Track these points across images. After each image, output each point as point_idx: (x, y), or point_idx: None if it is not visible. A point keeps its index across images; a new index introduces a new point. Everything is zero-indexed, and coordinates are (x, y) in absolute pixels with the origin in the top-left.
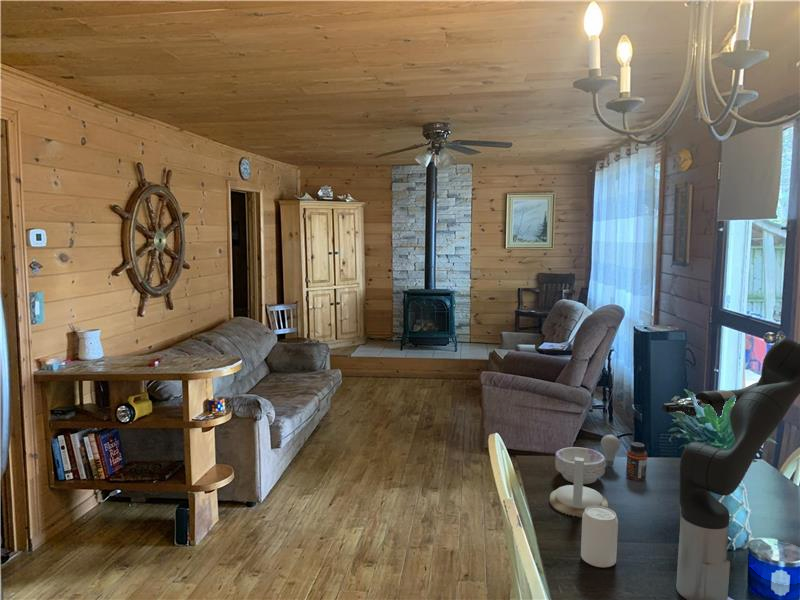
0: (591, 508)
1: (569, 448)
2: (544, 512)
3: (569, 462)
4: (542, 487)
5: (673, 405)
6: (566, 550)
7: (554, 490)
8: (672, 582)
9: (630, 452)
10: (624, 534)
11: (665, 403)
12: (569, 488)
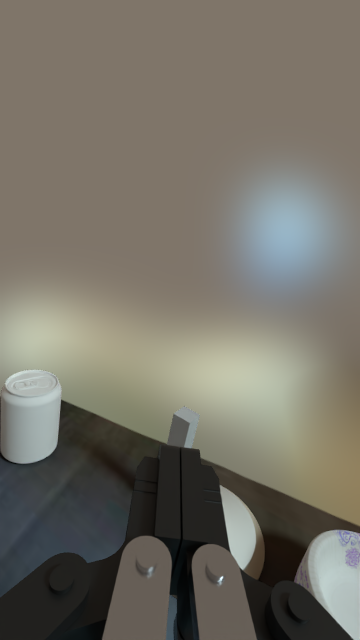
0: (54, 384)
1: None
2: None
3: (318, 536)
4: (282, 516)
5: (155, 499)
6: (75, 430)
7: (248, 508)
8: None
9: None
10: (55, 539)
11: (198, 460)
12: (238, 521)
